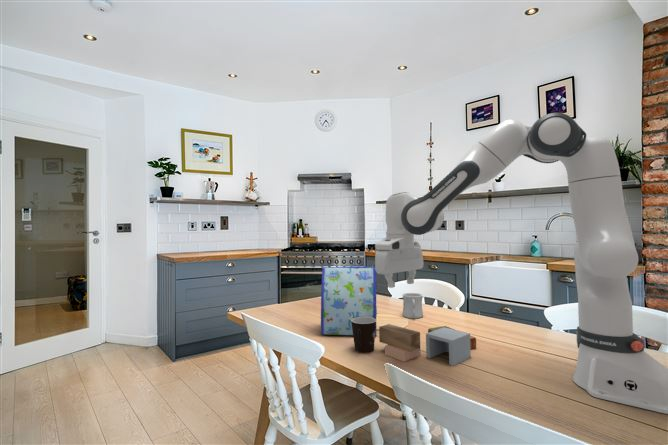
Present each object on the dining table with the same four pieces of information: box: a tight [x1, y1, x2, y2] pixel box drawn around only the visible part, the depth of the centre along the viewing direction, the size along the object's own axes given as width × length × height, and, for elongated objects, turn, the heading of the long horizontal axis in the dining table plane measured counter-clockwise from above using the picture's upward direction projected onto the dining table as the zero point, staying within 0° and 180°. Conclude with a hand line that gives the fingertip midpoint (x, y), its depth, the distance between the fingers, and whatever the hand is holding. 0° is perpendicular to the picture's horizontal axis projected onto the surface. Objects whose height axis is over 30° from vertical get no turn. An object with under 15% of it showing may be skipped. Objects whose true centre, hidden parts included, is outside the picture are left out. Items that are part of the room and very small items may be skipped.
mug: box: [402, 292, 424, 319], centre depth 162 cm, size 12×9×10 cm
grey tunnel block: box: [425, 327, 472, 367], centre depth 113 cm, size 9×10×8 cm
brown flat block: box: [427, 325, 477, 351], centre depth 126 cm, size 8×16×4 cm, turn 21°
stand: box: [384, 344, 421, 362], centre depth 115 cm, size 8×8×3 cm
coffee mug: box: [351, 317, 377, 354], centre depth 120 cm, size 12×9×10 cm
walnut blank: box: [378, 323, 421, 352], centre depth 117 cm, size 5×13×5 cm, turn 39°
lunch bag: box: [320, 265, 378, 337], centre depth 143 cm, size 22×17×26 cm
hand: (401, 285), depth 116 cm, fingers open, 8 cm apart
